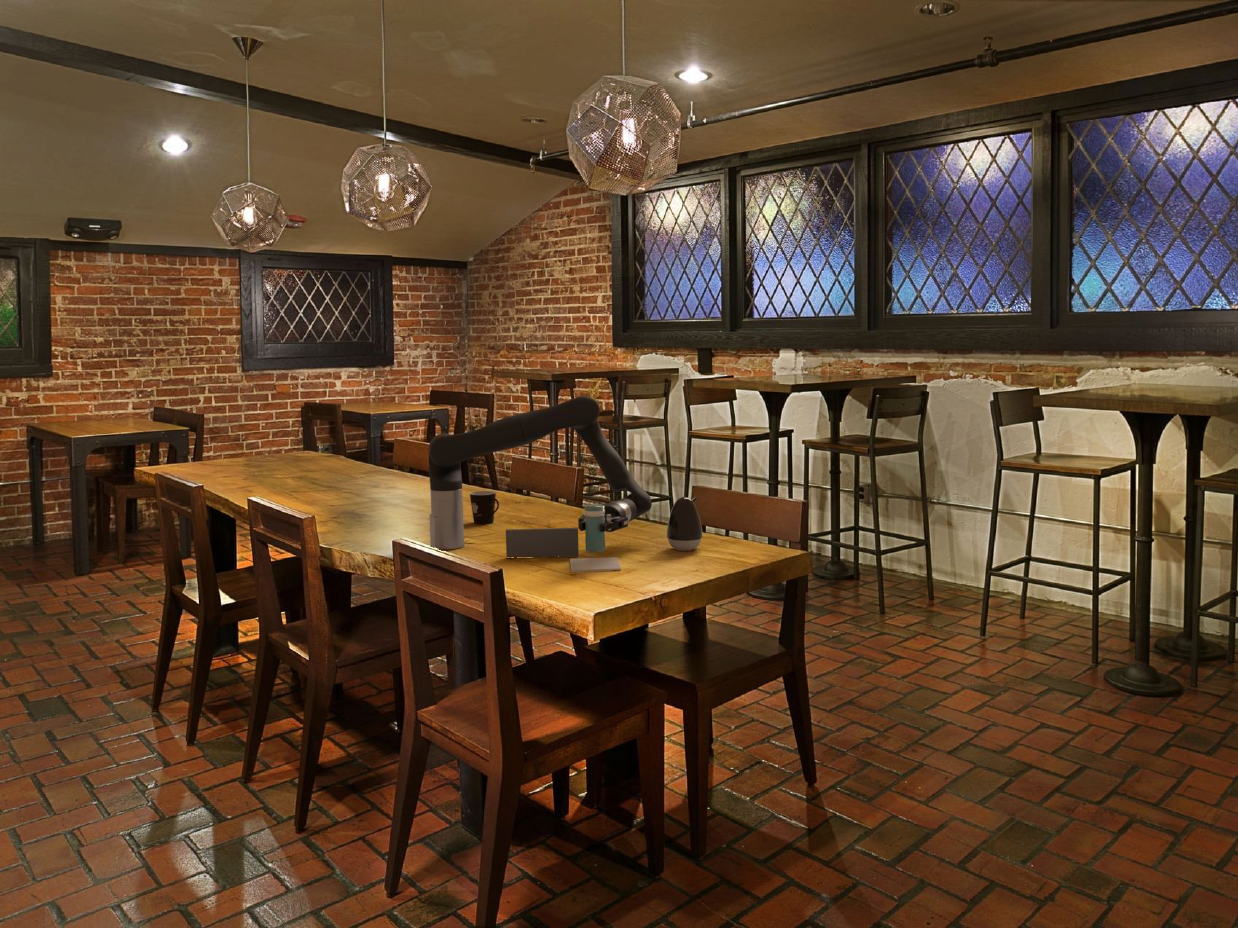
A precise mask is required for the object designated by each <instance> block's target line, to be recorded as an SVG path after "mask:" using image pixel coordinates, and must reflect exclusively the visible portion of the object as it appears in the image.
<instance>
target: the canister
mask: <svg viewBox="0 0 1238 928" xmlns="http://www.w3.org/2000/svg"><path fill="white" fill-rule="evenodd" d="M604 506H605V505H604V504H599V503H592V504H586V505H584V513H583V515H585V530H584V531H585V532H584V535H585V537H584V538H585V551H586V552H588V553H600V552H602V553H603V552H604V551H606V531H605V532H600V524H601V523H603V522H605V517H604V515H605V509H604Z"/></svg>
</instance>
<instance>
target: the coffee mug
mask: <svg viewBox="0 0 1238 928" xmlns="http://www.w3.org/2000/svg"><path fill="white" fill-rule="evenodd" d="M496 493H497V492H496V491H493V490H476V491H471V492H469V498H470V506H471V512H472V519H473V524H474V525H480V526H481V525H484V526H485V525H492V524H494V520H495V513H497V511H498V510H499V507H500V503H499V500H498V499H497V497H496V496H497V494H496ZM495 506H496V507H495Z"/></svg>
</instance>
